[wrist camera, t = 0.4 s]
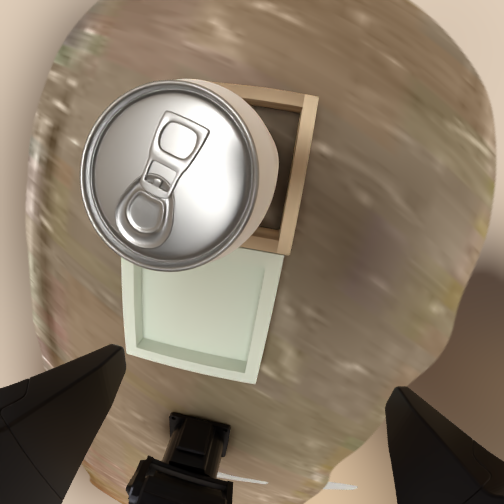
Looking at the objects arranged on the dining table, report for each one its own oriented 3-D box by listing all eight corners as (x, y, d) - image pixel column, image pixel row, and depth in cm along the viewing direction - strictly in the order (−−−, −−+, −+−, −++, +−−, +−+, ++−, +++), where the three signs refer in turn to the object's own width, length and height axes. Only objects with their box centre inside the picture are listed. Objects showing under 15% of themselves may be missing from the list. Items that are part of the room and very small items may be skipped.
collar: (288, 243, 20) (289, 255, 18) (155, 220, 21) (141, 228, 18) (314, 104, 17) (318, 96, 15) (172, 87, 18) (158, 80, 15)
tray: (257, 367, 24) (255, 384, 22) (136, 339, 25) (126, 353, 23) (283, 245, 21) (284, 255, 19) (135, 219, 21) (121, 226, 19)
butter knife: (172, 457, 31) (171, 467, 32) (363, 482, 31) (353, 491, 31) (173, 454, 31) (172, 464, 32) (362, 479, 31) (353, 488, 32)
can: (167, 183, 20) (50, 224, 9) (210, 99, 18) (120, 41, 6) (249, 227, 20) (209, 321, 9) (297, 144, 18) (322, 128, 7)
